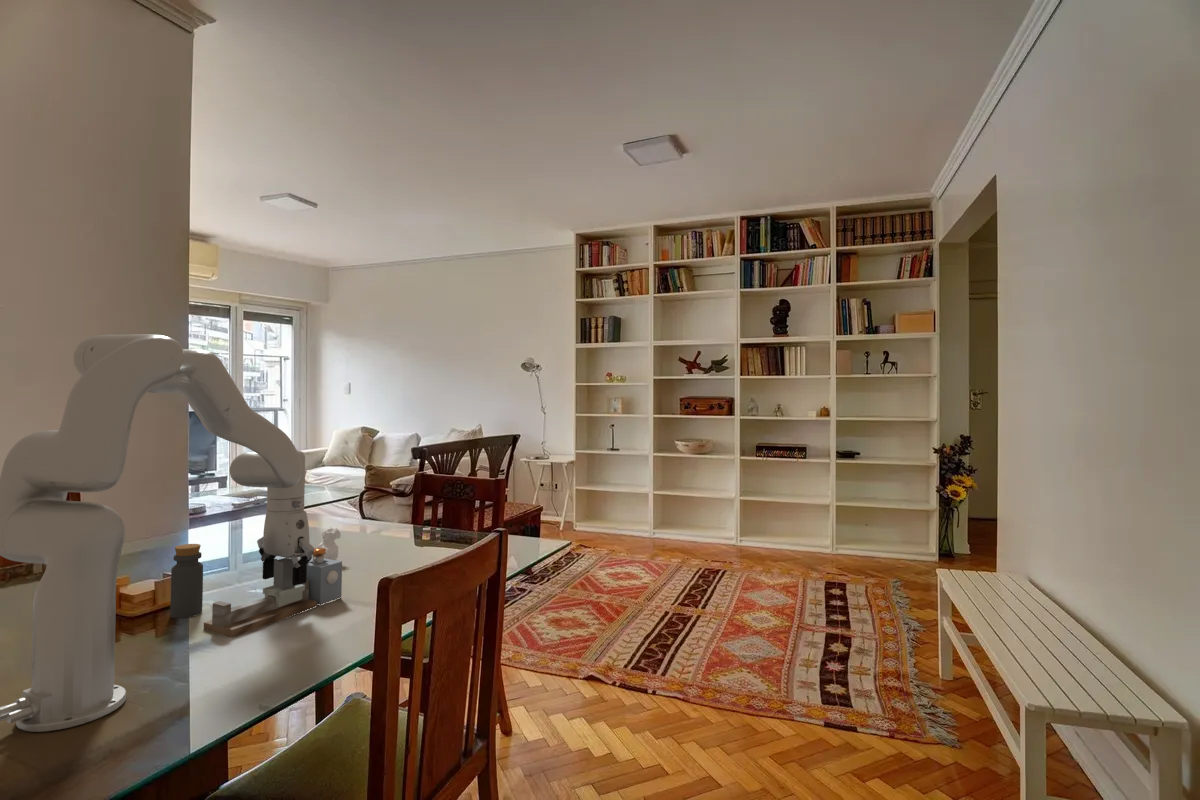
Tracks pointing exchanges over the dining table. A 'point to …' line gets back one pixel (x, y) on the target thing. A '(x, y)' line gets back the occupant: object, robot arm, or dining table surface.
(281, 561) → the carriage
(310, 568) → the end cabinet
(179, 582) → the bottle
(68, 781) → the dining table surface
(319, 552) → the gauge plunger
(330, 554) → the duck figurine
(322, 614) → the dining table surface
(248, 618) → the rail plinth
